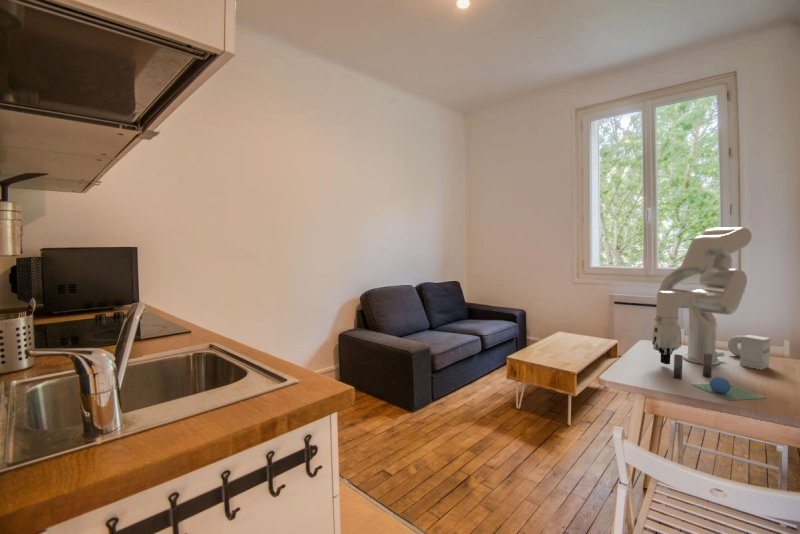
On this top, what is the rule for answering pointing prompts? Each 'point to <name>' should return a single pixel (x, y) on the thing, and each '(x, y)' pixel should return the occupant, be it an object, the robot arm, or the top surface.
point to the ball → (719, 385)
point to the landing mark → (731, 393)
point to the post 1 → (678, 366)
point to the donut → (734, 345)
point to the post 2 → (707, 365)
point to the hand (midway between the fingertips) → (665, 363)
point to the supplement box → (755, 351)
